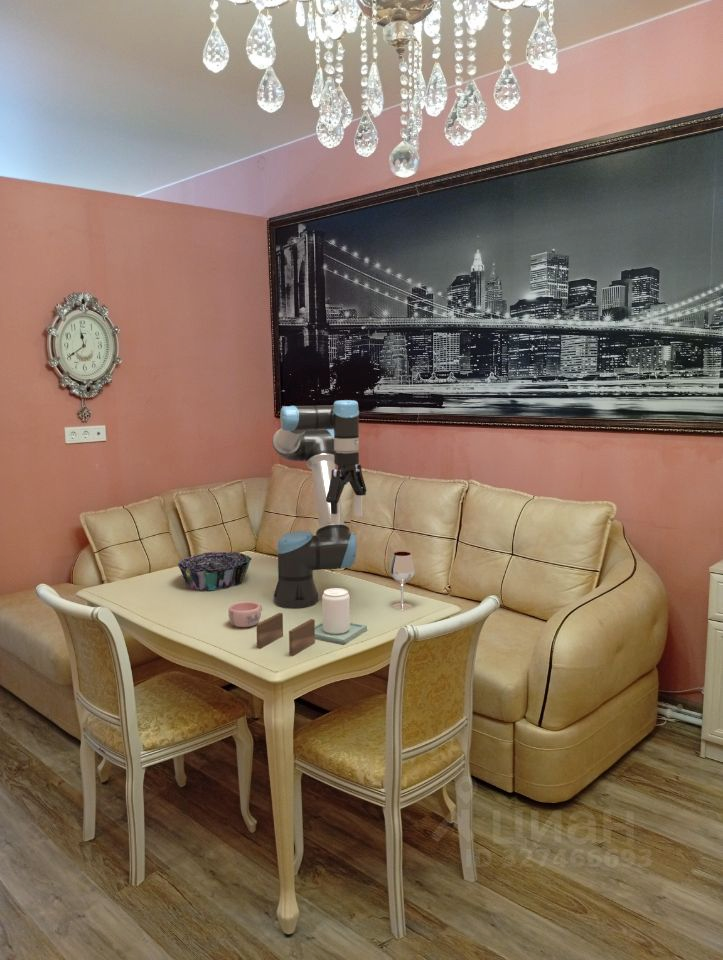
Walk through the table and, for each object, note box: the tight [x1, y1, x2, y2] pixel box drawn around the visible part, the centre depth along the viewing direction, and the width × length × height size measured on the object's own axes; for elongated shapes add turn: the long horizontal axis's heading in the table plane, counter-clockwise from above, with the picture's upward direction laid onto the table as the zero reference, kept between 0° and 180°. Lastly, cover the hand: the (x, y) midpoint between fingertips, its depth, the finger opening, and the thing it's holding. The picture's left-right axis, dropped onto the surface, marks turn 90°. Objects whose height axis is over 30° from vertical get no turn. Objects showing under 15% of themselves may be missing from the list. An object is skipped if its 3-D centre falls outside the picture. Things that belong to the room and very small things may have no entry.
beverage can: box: [321, 587, 351, 634], centre depth 224 cm, size 8×8×12 cm
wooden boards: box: [255, 612, 316, 657], centre depth 215 cm, size 12×11×7 cm
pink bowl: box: [227, 601, 263, 628], centre depth 233 cm, size 12×10×6 cm
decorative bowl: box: [177, 551, 252, 592], centre depth 276 cm, size 26×28×10 cm
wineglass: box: [389, 551, 416, 611], centre depth 247 cm, size 8×8×18 cm
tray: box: [315, 620, 368, 646], centre depth 225 cm, size 14×14×2 cm
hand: (347, 519), depth 233 cm, fingers open, 13 cm apart
